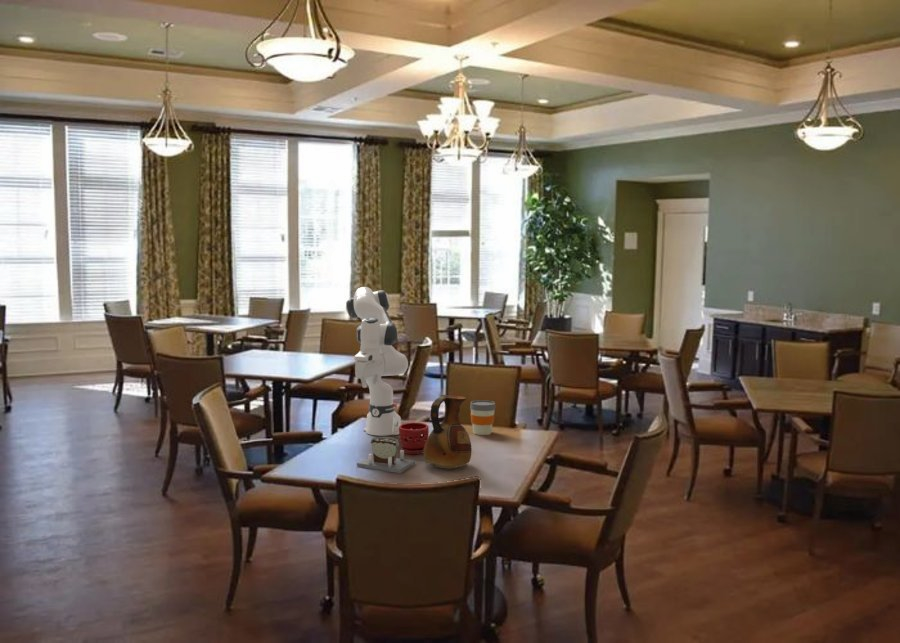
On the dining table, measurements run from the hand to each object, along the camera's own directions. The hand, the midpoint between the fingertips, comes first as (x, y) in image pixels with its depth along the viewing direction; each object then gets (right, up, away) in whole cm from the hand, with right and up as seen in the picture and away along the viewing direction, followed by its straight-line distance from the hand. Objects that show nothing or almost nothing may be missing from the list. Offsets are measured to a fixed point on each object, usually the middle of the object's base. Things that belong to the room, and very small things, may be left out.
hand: (370, 385), depth 344 cm
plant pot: (+19, -30, +1) cm, 35 cm away
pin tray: (+9, -32, -20) cm, 39 cm away
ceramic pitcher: (+34, -32, -19) cm, 51 cm away
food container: (+9, -30, -21) cm, 38 cm away
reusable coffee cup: (+51, -27, +39) cm, 69 cm away
